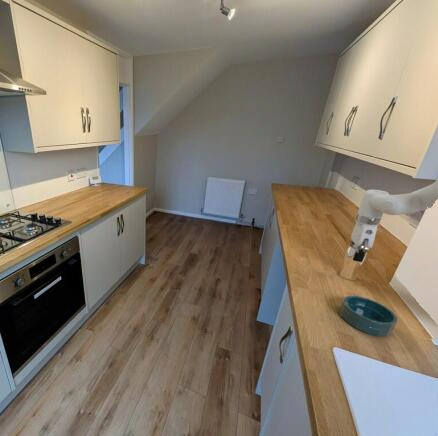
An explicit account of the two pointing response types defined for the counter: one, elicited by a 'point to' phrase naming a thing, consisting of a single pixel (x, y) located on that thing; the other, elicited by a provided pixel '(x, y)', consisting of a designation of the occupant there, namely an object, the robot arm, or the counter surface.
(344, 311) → the bowl
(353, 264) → the beer glass
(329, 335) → the counter surface
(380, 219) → the robot arm
